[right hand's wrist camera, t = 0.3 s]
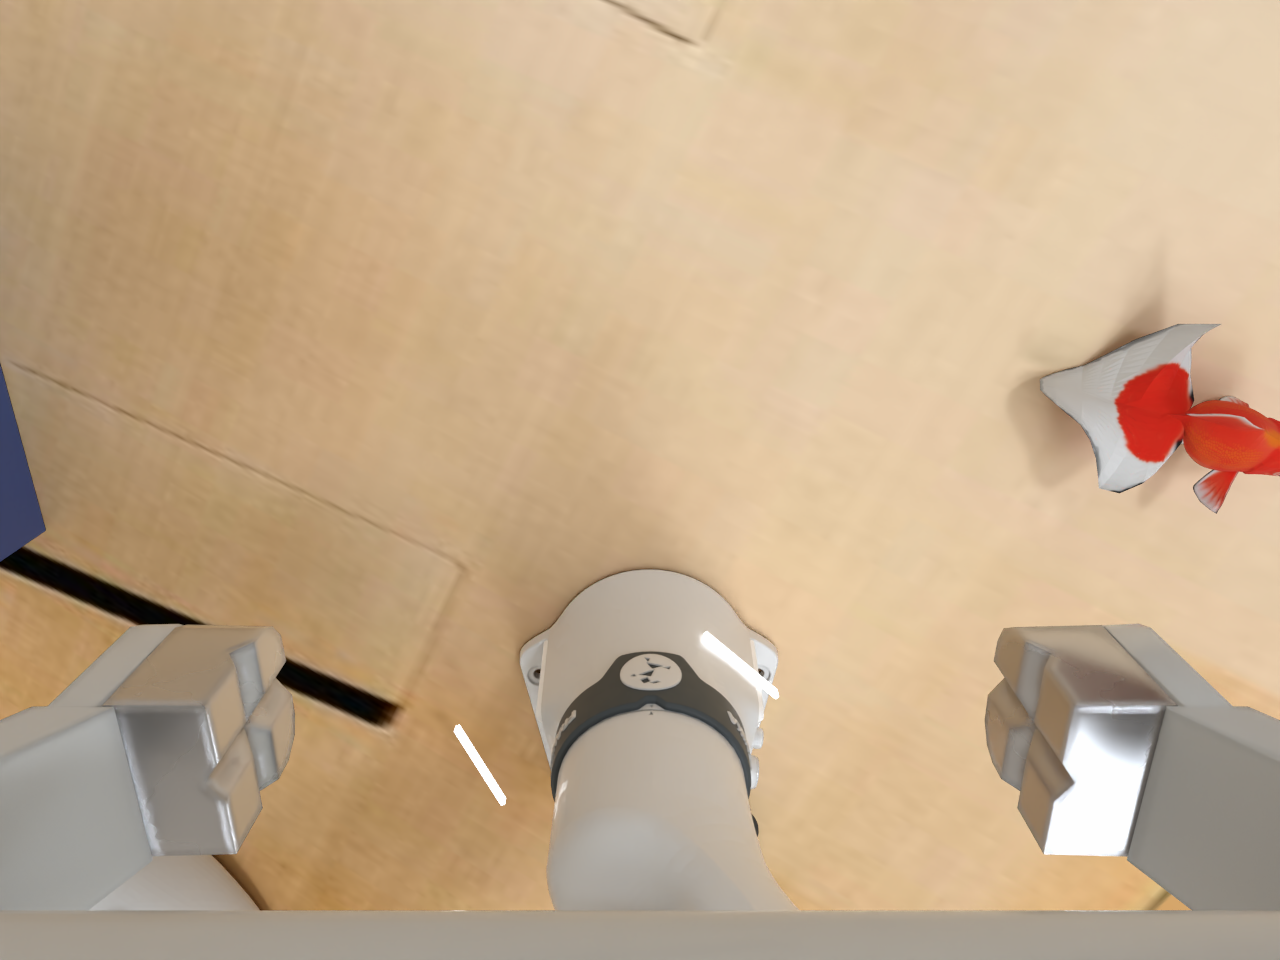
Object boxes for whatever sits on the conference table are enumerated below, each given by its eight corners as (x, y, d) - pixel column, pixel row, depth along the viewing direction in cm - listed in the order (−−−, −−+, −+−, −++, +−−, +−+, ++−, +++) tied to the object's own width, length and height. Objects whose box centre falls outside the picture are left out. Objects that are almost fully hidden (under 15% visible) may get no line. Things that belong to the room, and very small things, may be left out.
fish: (1203, 576, 58) (1283, 567, 48) (989, 443, 61) (1024, 410, 52) (1296, 441, 58) (1396, 405, 48) (1078, 317, 61) (1129, 260, 52)
